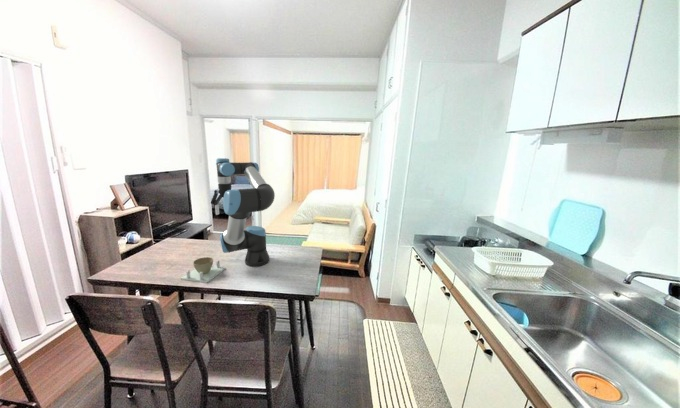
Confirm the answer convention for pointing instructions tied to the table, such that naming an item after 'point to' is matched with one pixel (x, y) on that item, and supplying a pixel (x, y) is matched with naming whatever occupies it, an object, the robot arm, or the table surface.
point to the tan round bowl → (203, 264)
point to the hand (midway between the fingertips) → (227, 215)
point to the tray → (203, 277)
